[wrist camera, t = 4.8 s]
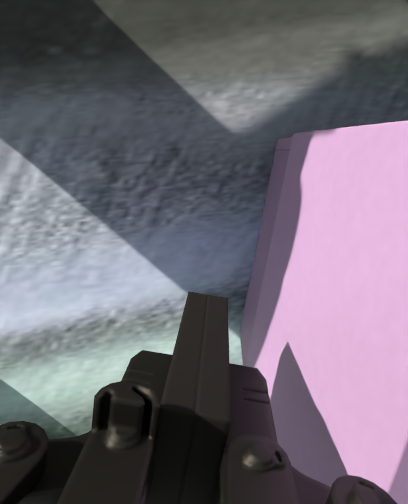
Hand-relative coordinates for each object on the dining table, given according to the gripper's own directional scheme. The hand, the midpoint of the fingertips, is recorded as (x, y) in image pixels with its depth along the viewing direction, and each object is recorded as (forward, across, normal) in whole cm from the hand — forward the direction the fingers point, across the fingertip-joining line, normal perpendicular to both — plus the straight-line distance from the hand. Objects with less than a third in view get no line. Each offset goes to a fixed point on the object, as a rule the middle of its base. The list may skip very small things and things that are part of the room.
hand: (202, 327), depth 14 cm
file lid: (0, +4, 0) cm, 4 cm away
